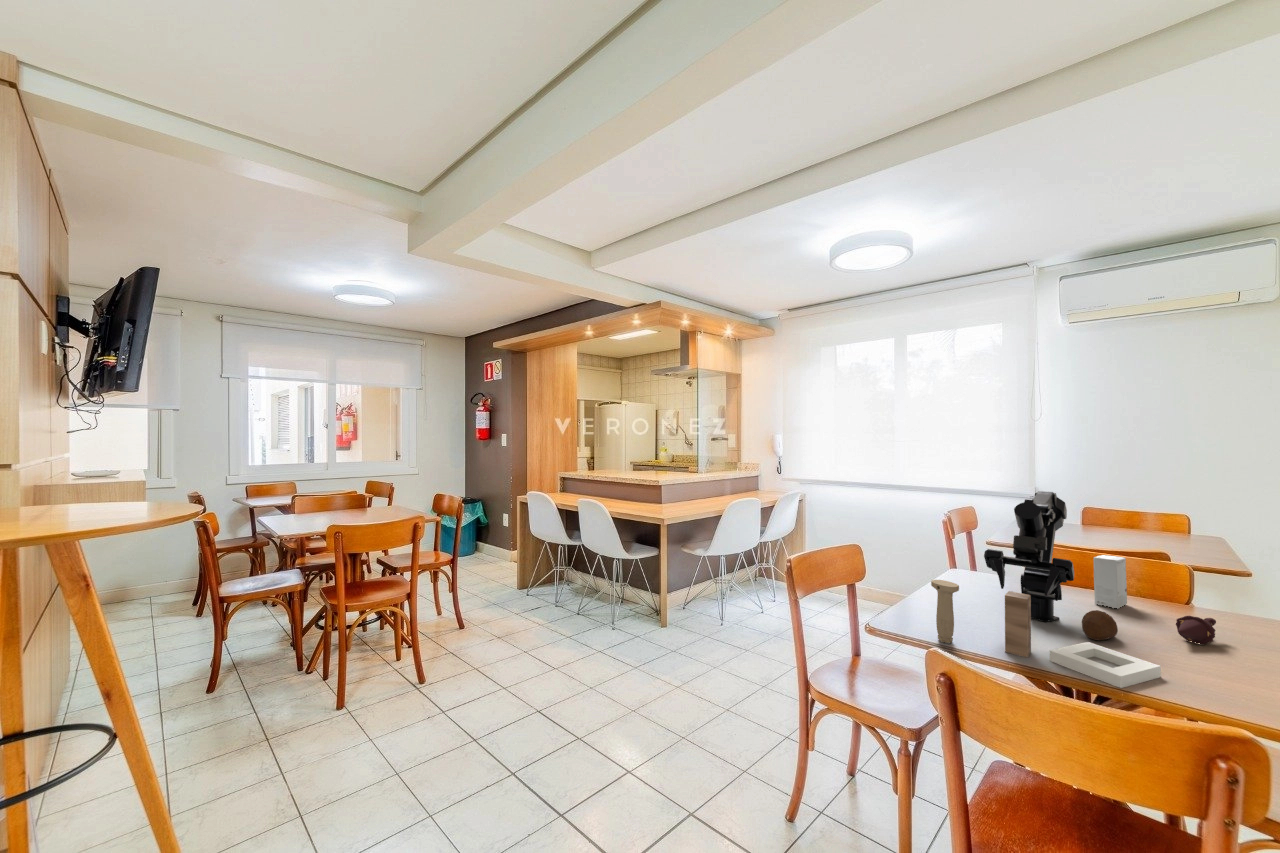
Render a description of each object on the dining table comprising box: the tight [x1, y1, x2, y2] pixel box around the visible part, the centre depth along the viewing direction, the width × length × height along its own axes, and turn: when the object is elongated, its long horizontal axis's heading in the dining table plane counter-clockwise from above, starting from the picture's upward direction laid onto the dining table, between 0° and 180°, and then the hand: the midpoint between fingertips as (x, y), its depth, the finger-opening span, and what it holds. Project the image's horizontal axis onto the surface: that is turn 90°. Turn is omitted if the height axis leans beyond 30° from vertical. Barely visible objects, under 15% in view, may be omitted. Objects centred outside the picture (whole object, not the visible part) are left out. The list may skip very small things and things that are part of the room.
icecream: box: [1175, 615, 1217, 646], centre depth 135 cm, size 7×7×15 cm
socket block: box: [1049, 641, 1162, 689], centre depth 120 cm, size 14×14×2 cm
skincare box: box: [1093, 554, 1128, 610], centre depth 164 cm, size 8×6×15 cm
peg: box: [1004, 590, 1032, 659], centre depth 129 cm, size 4×4×14 cm
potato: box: [1081, 609, 1119, 641], centre depth 138 cm, size 7×10×7 cm
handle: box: [930, 579, 960, 644], centre depth 136 cm, size 5×6×15 cm
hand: (1023, 591), depth 134 cm, fingers open, 9 cm apart
